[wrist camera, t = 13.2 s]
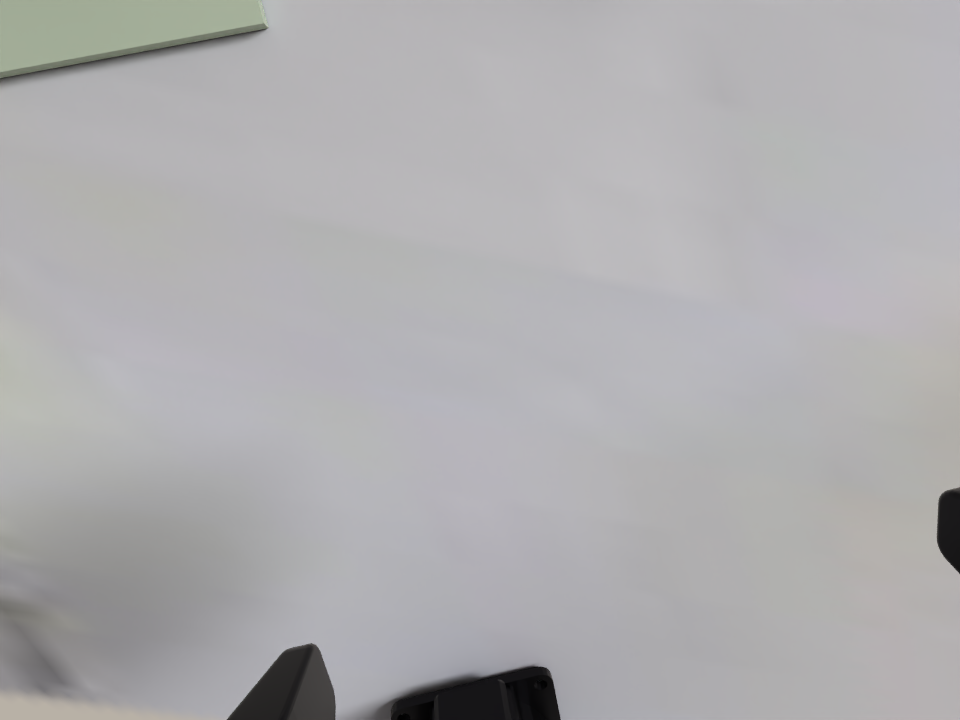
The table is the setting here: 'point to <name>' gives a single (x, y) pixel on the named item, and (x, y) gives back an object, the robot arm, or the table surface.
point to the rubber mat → (112, 28)
